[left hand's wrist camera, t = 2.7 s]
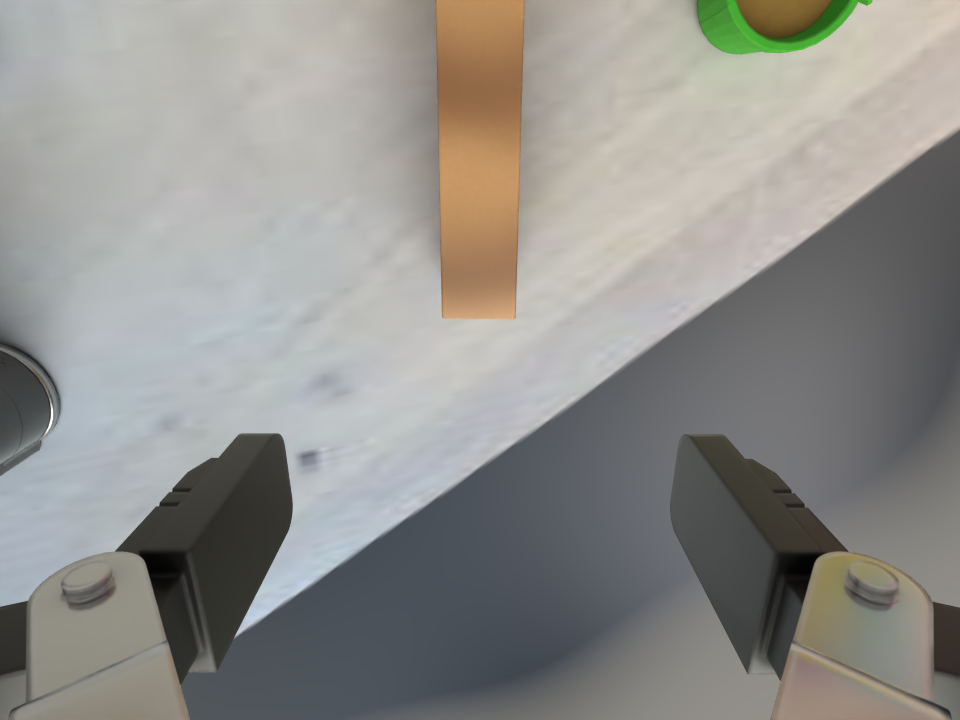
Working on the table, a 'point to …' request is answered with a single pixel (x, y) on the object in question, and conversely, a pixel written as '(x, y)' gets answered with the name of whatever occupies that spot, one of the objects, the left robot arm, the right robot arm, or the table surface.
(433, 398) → the table surface
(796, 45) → the potted flower
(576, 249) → the table surface
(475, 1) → the bar
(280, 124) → the table surface
